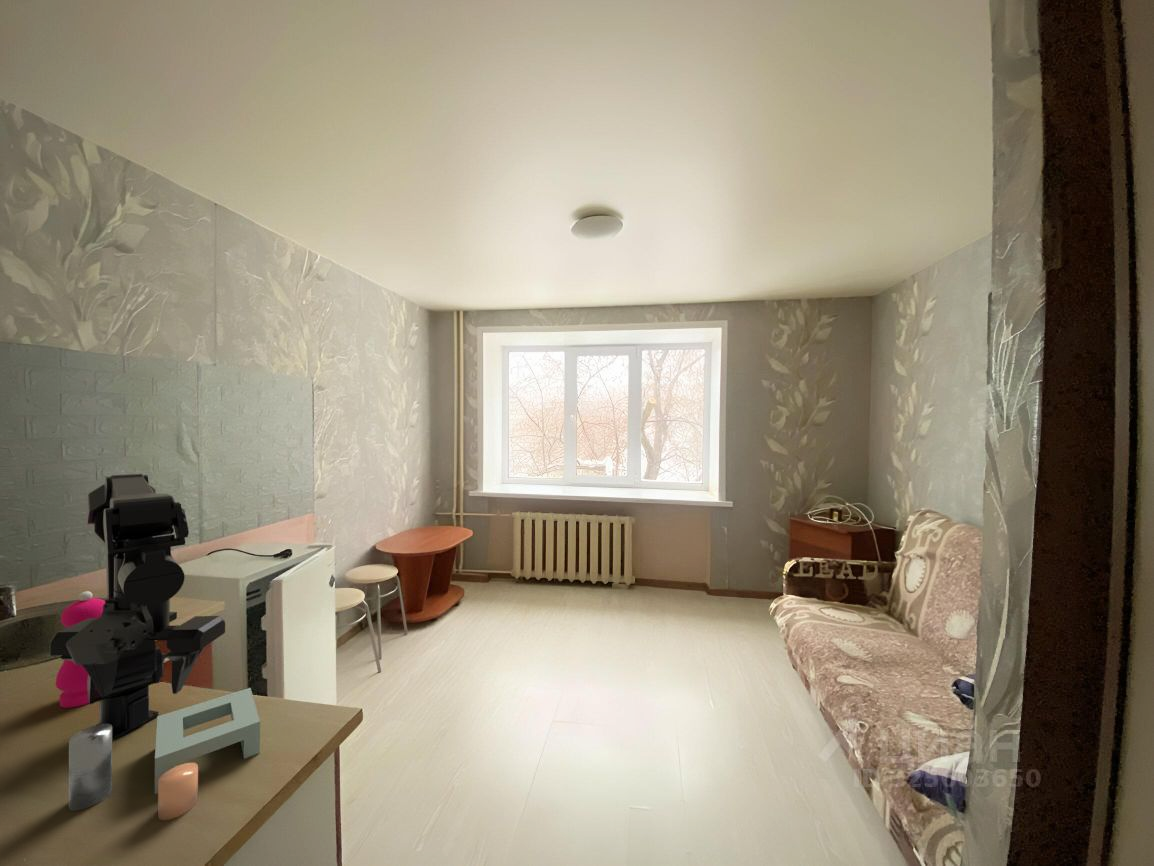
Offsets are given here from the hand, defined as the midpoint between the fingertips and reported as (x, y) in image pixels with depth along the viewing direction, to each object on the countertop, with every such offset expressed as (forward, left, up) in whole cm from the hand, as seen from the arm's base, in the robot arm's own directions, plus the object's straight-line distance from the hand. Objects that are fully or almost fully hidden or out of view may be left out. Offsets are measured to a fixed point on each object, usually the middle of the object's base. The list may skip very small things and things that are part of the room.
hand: (142, 693), depth 63 cm
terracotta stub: (+9, -1, -13) cm, 16 cm away
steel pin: (-4, -3, -13) cm, 14 cm away
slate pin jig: (+2, +8, -13) cm, 15 cm away
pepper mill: (-34, +12, -13) cm, 38 cm away
